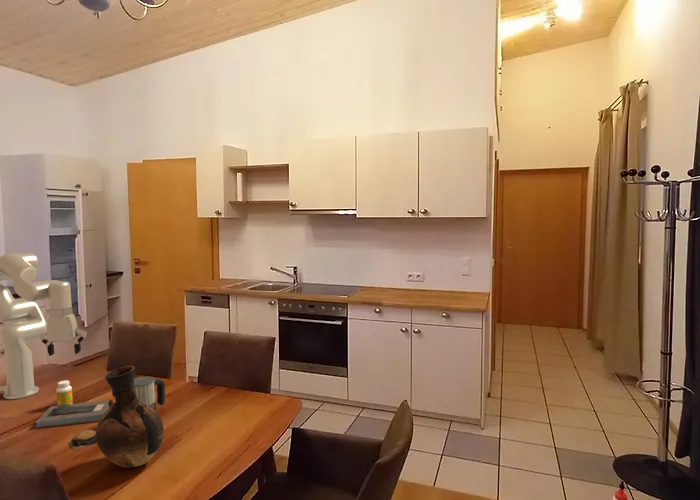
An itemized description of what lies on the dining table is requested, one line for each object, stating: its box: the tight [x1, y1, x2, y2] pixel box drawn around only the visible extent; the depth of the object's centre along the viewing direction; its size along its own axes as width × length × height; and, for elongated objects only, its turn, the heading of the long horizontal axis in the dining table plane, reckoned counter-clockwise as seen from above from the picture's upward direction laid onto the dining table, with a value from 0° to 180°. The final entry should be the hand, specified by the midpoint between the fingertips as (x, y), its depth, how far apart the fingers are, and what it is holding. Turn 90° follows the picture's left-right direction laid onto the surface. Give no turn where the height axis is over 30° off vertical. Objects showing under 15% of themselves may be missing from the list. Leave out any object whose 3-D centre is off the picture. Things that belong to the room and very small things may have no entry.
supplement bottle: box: [55, 379, 74, 406], centre depth 186 cm, size 5×5×10 cm
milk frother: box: [134, 376, 166, 412], centre depth 176 cm, size 14×16×15 cm
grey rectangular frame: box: [35, 399, 110, 429], centre depth 176 cm, size 22×14×2 cm, turn 104°
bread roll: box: [68, 429, 97, 450], centre depth 157 cm, size 11×8×4 cm
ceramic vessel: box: [95, 365, 164, 469], centre depth 141 cm, size 21×18×30 cm
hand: (64, 353), depth 185 cm, fingers open, 9 cm apart
